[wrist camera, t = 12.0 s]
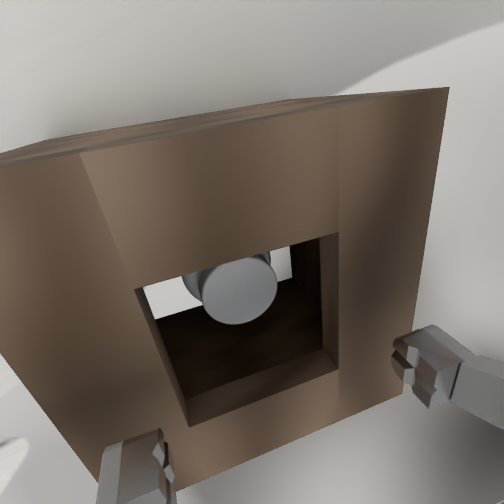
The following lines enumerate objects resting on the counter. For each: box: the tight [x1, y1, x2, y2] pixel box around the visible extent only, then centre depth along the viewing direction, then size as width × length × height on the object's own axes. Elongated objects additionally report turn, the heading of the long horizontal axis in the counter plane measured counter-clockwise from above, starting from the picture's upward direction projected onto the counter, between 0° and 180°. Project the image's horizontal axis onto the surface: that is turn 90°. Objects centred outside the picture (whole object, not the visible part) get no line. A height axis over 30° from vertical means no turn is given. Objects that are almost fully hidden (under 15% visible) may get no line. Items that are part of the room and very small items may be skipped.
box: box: [0, 87, 449, 492], centre depth 18 cm, size 16×16×13 cm
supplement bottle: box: [182, 251, 277, 324], centre depth 19 cm, size 5×5×10 cm
